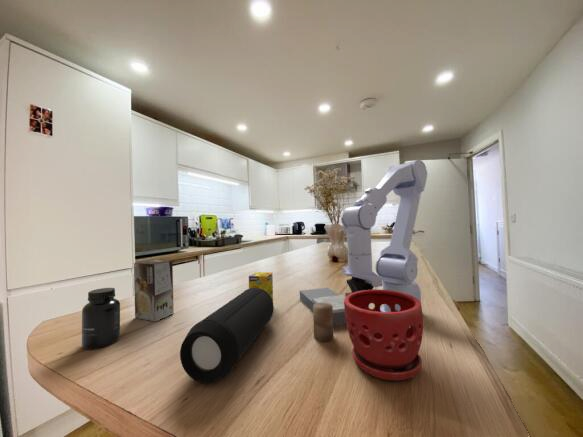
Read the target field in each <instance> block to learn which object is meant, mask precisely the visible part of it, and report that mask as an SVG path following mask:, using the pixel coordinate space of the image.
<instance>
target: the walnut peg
mask: <svg viewBox="0 0 583 437" xmlns="http://www.w3.org/2000/svg"><path fill="white" fill-rule="evenodd" d="M312 314H313V320H312V321H313V338H314V340H315V341H317V342H321V343H327V342H331V341H333V339H334V326H333V306H332V305H331V304H328V303H317V304H314V305H313V312H312Z"/></svg>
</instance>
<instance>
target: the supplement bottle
mask: <svg viewBox="0 0 583 437" xmlns="http://www.w3.org/2000/svg"><path fill="white" fill-rule="evenodd" d="M115 297H116V289H115V288H114V287H102V288H96V289H93V290H90V291H88V293H87V303H86V304H85V305H84V306H83V307H82V309H81V347H82V349H84V350H88V351H89V350H99V349H103V348H105V347H108V346H111V345H112V344H114V343H116V342H118V340H119V339H120V337H121V302H120V300H118V299H116V298H115Z"/></svg>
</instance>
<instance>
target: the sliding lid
mask: <svg viewBox="0 0 583 437" xmlns="http://www.w3.org/2000/svg"><path fill="white" fill-rule="evenodd" d="M351 293H352V291H351V292H345V295H344V294H339V295H335V296H327V297H319V298H312V301H313V302H314V303H315V304H317V303H328V304H331V305H332V306H333V313H339V312H345V309H344V299H345V297H346V296H347V295H349V294H351Z"/></svg>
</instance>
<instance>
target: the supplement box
mask: <svg viewBox="0 0 583 437" xmlns="http://www.w3.org/2000/svg"><path fill="white" fill-rule="evenodd" d="M273 276H274V275H273V272H270V271H269V272H267V271H266V272H265V271H263V272H261V271H255V272H254V273H252V274H250V275H248V289H250V288H260V289H263V290H265V291H267V292H268V293H269V294H270V296H271V297H272V300H273V301H274V286H273V284H274V283H273Z"/></svg>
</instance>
